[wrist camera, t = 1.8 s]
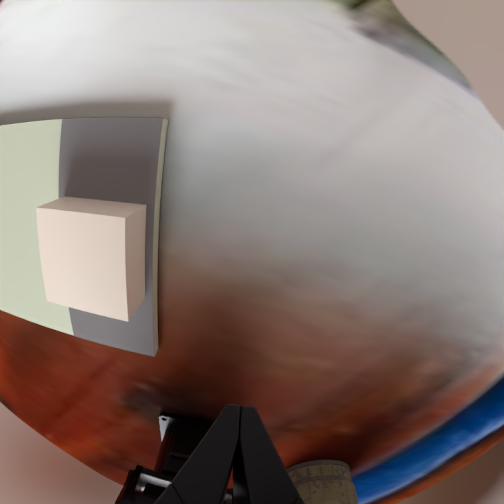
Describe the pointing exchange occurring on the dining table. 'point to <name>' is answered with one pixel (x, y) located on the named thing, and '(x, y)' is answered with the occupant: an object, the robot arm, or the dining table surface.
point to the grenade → (323, 482)
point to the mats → (119, 190)
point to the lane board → (25, 220)
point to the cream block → (93, 255)
